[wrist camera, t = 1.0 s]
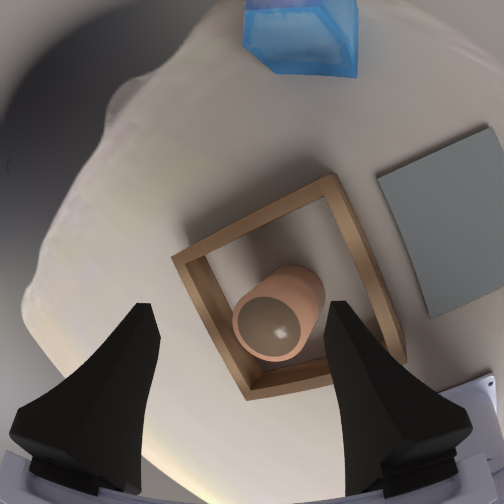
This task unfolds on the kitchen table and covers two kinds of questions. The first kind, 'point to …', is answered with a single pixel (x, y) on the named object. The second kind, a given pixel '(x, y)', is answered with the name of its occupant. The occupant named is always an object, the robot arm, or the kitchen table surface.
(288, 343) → the terracotta pot
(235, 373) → the wooden square frame
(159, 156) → the kitchen table surface
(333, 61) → the perfume bottle
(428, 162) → the slate mat
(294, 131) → the kitchen table surface
